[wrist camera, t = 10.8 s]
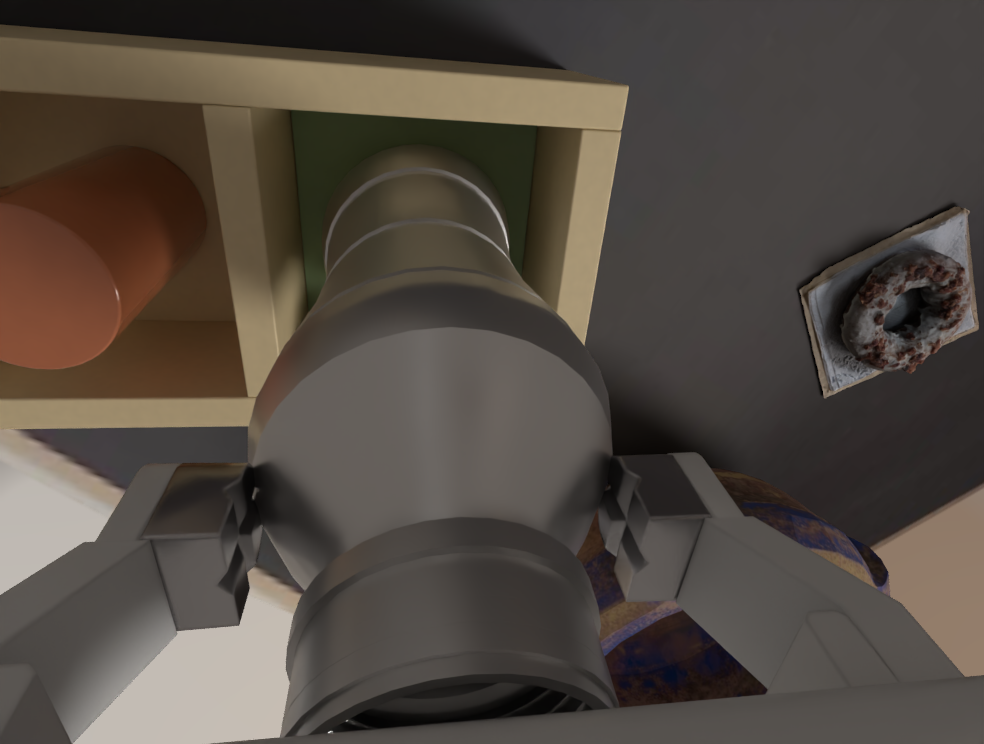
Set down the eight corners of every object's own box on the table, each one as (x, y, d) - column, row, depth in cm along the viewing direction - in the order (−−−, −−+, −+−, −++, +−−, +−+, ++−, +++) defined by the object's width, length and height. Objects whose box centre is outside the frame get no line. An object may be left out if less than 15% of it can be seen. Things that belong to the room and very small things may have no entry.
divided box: (-76, 18, 19) (-297, 13, 13) (569, 70, 22) (630, 85, 16) (34, 333, 25) (-85, 431, 19) (535, 338, 28) (571, 422, 22)
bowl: (655, 654, 42) (719, 812, 34) (440, 584, 36) (452, 760, 27) (843, 483, 36) (982, 626, 27) (623, 359, 29) (715, 497, 21)
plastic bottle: (292, 216, 22) (-55, 836, 5) (422, 89, 21) (510, 406, 4) (410, 325, 25) (426, 944, 8) (531, 223, 24) (857, 733, 7)
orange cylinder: (54, 140, 20) (-122, 198, 13) (195, 148, 21) (95, 206, 14) (90, 266, 23) (-46, 370, 16) (216, 270, 23) (138, 370, 16)
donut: (968, 198, 27) (1007, 210, 25) (974, 328, 31) (1008, 346, 29) (796, 282, 28) (822, 299, 26) (823, 398, 32) (847, 419, 30)
